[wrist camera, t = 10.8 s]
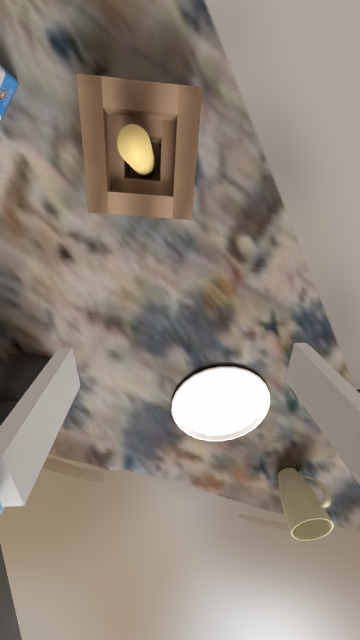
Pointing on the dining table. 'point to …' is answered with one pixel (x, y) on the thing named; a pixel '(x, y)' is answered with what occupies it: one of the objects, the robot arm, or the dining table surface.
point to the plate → (220, 403)
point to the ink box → (6, 89)
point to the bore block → (165, 136)
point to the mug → (303, 506)
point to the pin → (137, 149)
